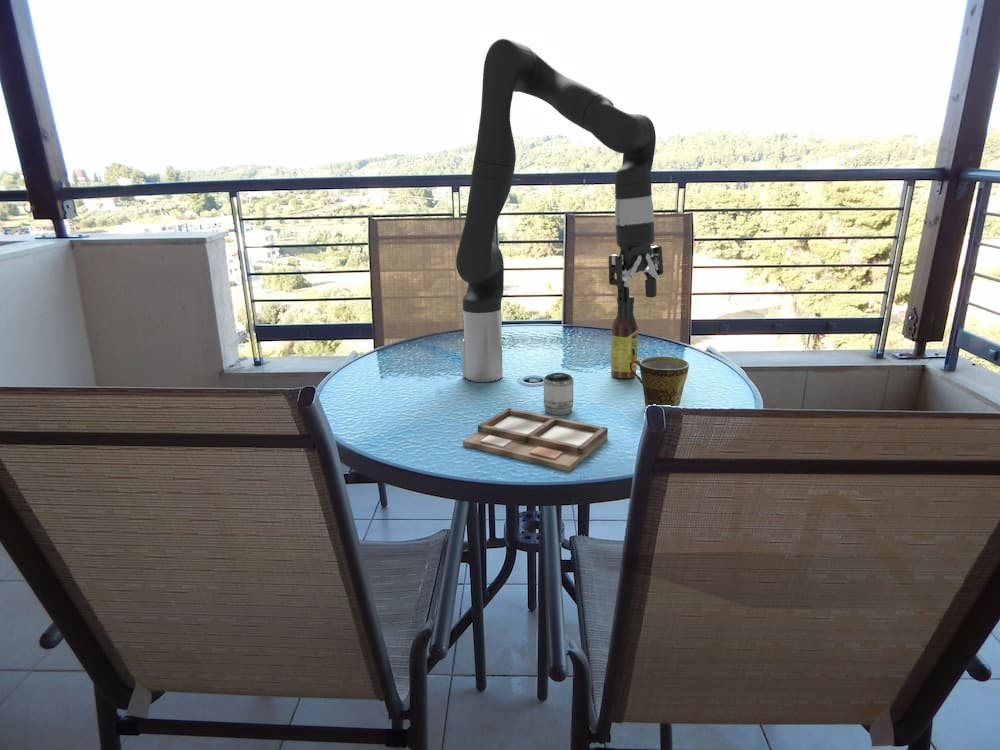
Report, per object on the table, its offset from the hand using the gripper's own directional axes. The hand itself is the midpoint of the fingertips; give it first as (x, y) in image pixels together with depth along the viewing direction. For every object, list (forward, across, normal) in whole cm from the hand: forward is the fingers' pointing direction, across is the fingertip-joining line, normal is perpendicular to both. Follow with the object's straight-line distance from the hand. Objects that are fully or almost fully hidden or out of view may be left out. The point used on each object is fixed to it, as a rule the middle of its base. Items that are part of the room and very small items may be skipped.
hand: (637, 300), depth 130 cm
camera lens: (+21, +17, -9) cm, 28 cm away
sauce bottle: (+22, -12, -15) cm, 30 cm away
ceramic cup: (+23, 0, +3) cm, 23 cm away
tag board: (+21, +31, 0) cm, 38 cm away
